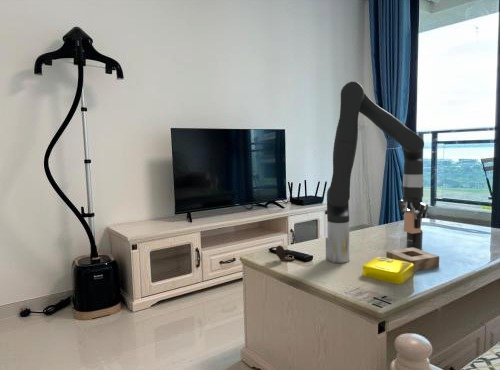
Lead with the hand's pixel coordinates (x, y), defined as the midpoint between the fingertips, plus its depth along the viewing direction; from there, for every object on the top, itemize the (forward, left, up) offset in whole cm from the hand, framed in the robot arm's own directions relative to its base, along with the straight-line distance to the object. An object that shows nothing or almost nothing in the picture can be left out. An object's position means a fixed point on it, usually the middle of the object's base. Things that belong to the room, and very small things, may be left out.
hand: (412, 226), depth 144 cm
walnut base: (0, 0, -16) cm, 16 cm away
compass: (-45, +27, -16) cm, 55 cm away
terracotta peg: (0, 0, -2) cm, 2 cm away
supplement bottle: (+17, +17, -16) cm, 29 cm away
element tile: (-16, -5, -16) cm, 24 cm away
